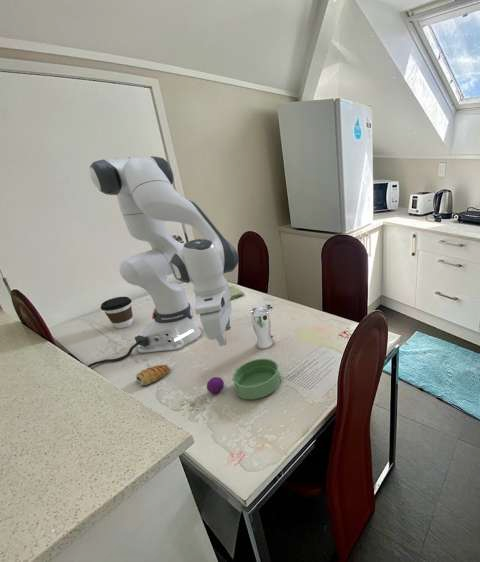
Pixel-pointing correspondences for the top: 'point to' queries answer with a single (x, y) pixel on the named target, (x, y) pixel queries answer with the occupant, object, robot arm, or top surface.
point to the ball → (215, 385)
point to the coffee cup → (119, 311)
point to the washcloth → (235, 292)
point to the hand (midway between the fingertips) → (225, 336)
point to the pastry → (152, 374)
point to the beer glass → (262, 327)
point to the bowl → (256, 378)
